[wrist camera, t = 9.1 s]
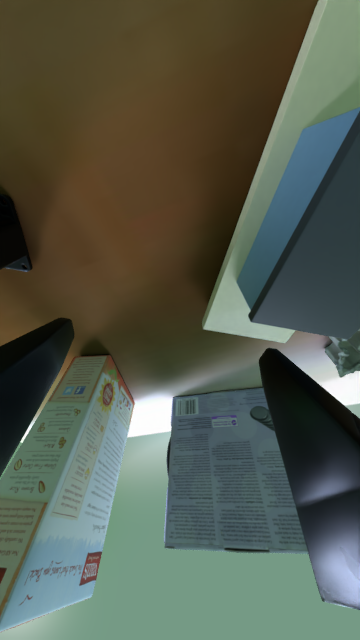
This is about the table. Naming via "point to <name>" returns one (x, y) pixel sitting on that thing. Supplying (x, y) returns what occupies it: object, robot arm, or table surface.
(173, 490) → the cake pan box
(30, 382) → the robot arm
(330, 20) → the cream lidded box
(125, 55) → the table surface
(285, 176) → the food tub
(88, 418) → the cracker box
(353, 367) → the egg carton
